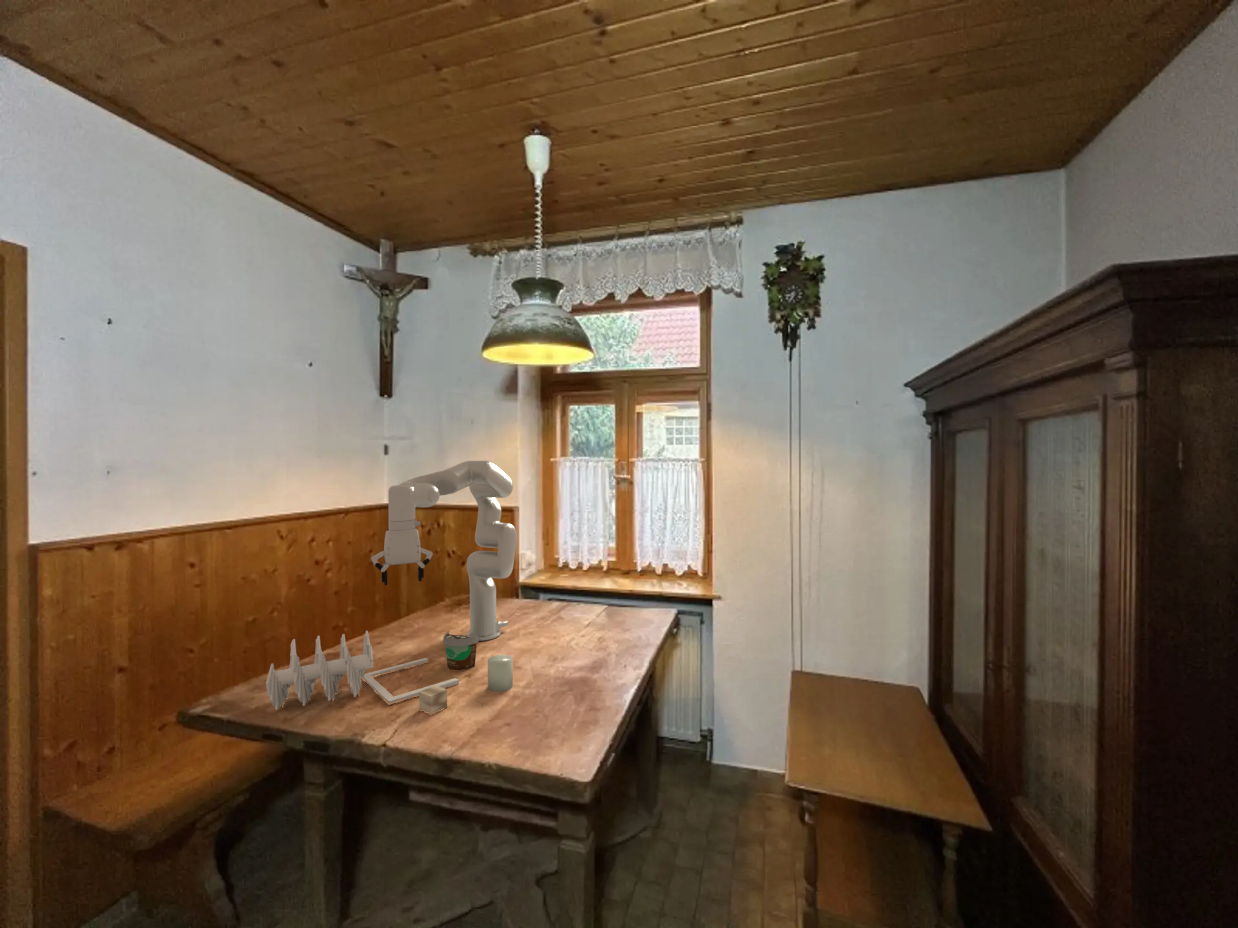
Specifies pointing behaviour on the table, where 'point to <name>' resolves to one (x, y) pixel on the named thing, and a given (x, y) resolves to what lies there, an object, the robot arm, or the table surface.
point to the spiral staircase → (319, 673)
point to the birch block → (433, 699)
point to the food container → (460, 651)
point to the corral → (391, 699)
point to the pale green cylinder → (500, 673)
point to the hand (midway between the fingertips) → (403, 582)
